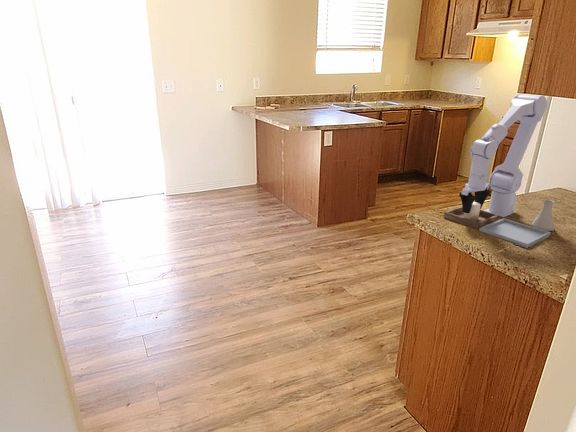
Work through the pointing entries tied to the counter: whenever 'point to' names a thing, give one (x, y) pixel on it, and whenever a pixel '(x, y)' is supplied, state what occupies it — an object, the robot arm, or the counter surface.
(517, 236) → the slate tray
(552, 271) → the counter surface
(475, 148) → the robot arm
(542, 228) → the flask
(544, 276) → the counter surface
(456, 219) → the brown square tray
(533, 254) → the counter surface
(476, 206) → the cream cylinder
